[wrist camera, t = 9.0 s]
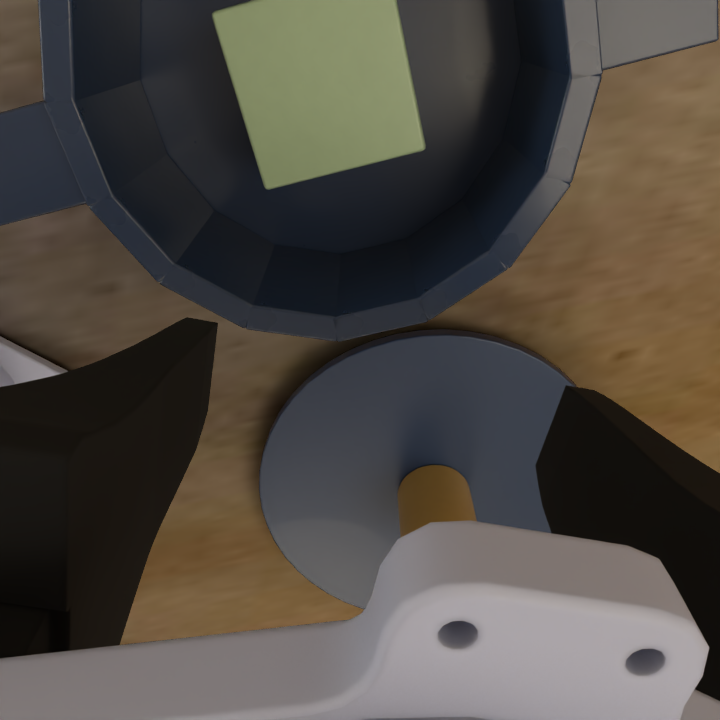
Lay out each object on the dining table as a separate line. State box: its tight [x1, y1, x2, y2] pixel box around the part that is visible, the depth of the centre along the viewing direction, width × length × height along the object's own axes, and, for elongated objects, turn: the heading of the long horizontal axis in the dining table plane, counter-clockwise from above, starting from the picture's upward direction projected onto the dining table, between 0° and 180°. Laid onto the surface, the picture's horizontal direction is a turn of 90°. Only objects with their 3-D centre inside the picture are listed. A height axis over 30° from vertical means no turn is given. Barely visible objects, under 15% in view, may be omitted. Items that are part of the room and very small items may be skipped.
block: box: [212, 0, 426, 190], centre depth 17 cm, size 4×4×4 cm
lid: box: [259, 329, 577, 609], centre depth 24 cm, size 13×13×4 cm
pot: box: [0, 0, 718, 342], centre depth 17 cm, size 12×17×5 cm
